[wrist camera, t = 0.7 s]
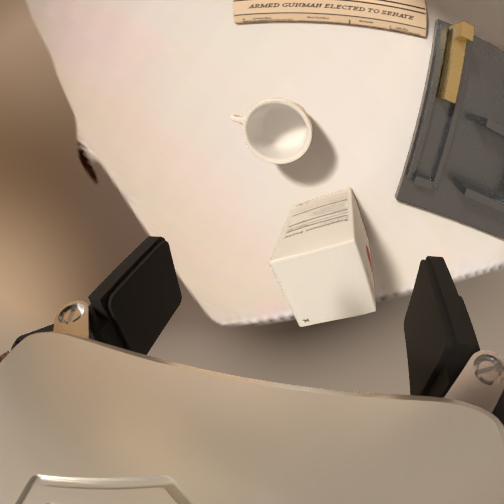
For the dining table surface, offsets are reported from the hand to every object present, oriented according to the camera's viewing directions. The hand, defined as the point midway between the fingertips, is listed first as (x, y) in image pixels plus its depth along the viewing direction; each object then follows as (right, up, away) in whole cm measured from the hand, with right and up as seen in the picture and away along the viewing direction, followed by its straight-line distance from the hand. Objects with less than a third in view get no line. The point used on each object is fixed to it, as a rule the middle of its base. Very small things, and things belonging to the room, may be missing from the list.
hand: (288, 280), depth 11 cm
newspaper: (+8, +32, +16) cm, 36 cm away
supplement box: (+10, +5, +31) cm, 33 cm away
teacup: (+2, +17, +26) cm, 31 cm away
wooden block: (+22, +23, +14) cm, 35 cm away
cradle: (+28, +16, +18) cm, 37 cm away
